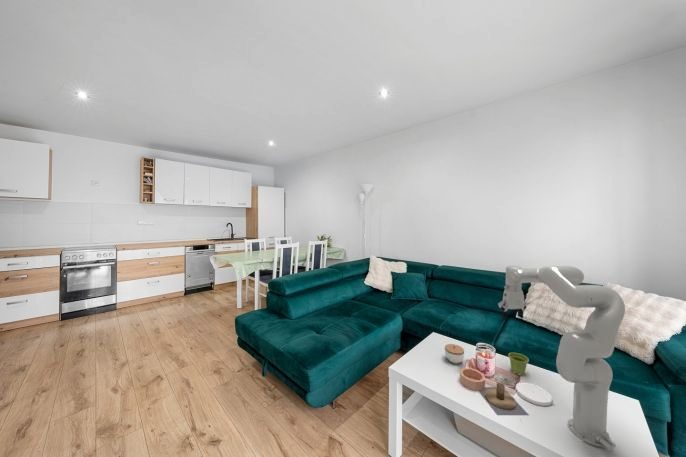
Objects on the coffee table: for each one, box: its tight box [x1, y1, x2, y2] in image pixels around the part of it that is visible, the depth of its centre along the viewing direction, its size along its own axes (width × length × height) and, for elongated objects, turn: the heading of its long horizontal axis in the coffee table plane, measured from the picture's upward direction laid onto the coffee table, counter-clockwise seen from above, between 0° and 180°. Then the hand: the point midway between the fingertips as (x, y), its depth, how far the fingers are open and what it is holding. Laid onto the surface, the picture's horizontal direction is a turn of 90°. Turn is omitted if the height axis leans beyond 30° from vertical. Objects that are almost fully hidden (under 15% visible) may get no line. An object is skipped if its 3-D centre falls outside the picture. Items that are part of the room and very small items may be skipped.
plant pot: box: [507, 352, 530, 376], centre depth 139 cm, size 9×9×9 cm
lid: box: [485, 382, 517, 410], centre depth 117 cm, size 12×12×7 cm
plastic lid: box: [515, 382, 553, 407], centre depth 120 cm, size 14×14×2 cm
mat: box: [478, 386, 530, 416], centre depth 117 cm, size 18×14×1 cm
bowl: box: [459, 367, 486, 392], centre depth 129 cm, size 11×11×5 cm
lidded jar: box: [444, 343, 465, 365], centre depth 150 cm, size 11×11×9 cm
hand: (512, 317), depth 141 cm, fingers open, 9 cm apart
